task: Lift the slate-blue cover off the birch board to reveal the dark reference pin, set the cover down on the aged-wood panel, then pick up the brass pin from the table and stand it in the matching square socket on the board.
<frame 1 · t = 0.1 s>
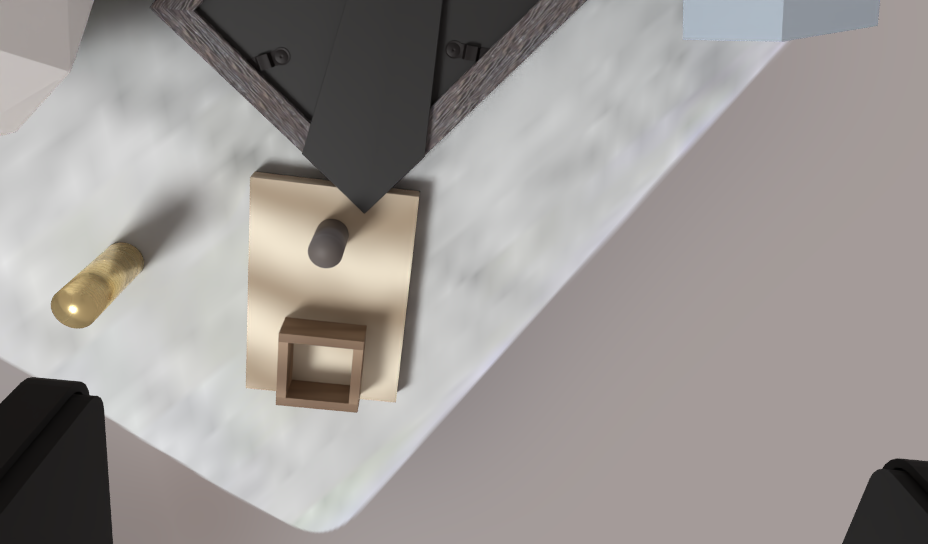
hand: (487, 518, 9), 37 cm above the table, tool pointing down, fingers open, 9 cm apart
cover: (776, 32, 35), point 8 cm above the table, tilted 92°
brass pin: (124, 260, 47), on the table
board: (330, 289, 48), on the table
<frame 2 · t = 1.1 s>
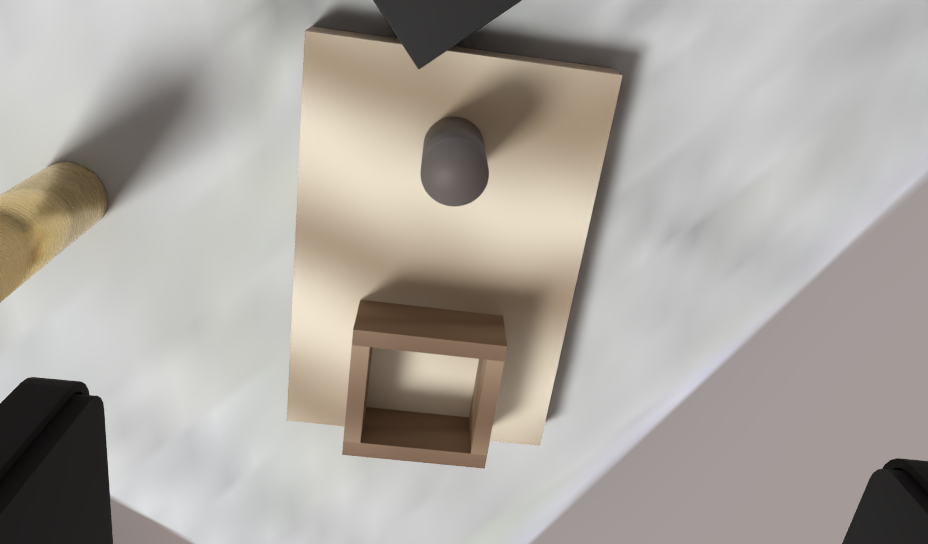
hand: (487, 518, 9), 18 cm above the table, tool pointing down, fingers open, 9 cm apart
brass pin: (72, 195, 26), on the table
board: (438, 251, 27), on the table
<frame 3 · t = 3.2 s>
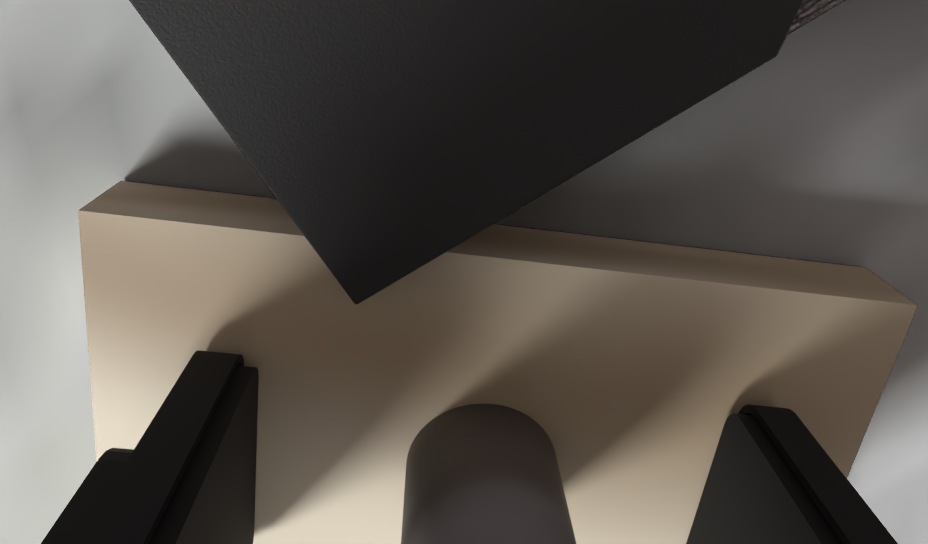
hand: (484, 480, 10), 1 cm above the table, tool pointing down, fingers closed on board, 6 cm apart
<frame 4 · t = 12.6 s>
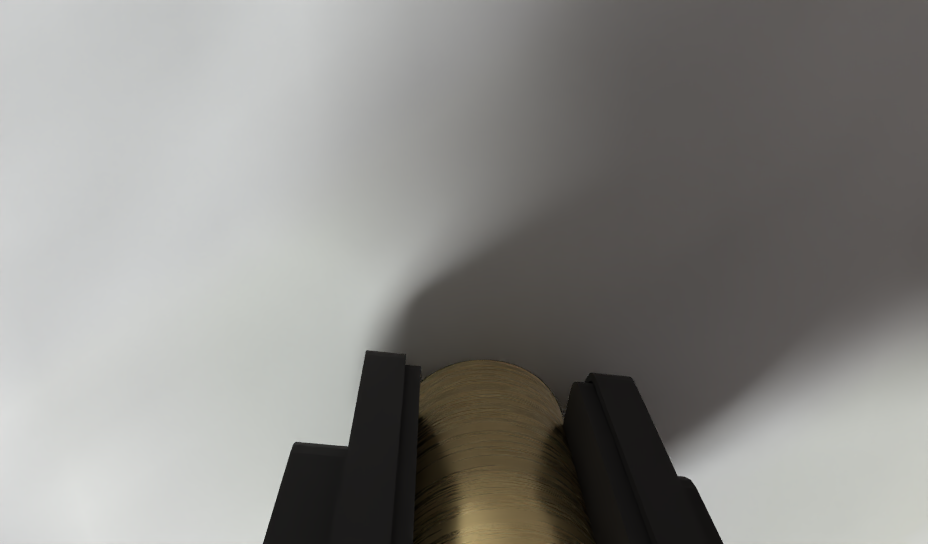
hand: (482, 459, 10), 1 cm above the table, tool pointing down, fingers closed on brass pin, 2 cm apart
brass pin: (480, 432, 11), on the table, touching gripper
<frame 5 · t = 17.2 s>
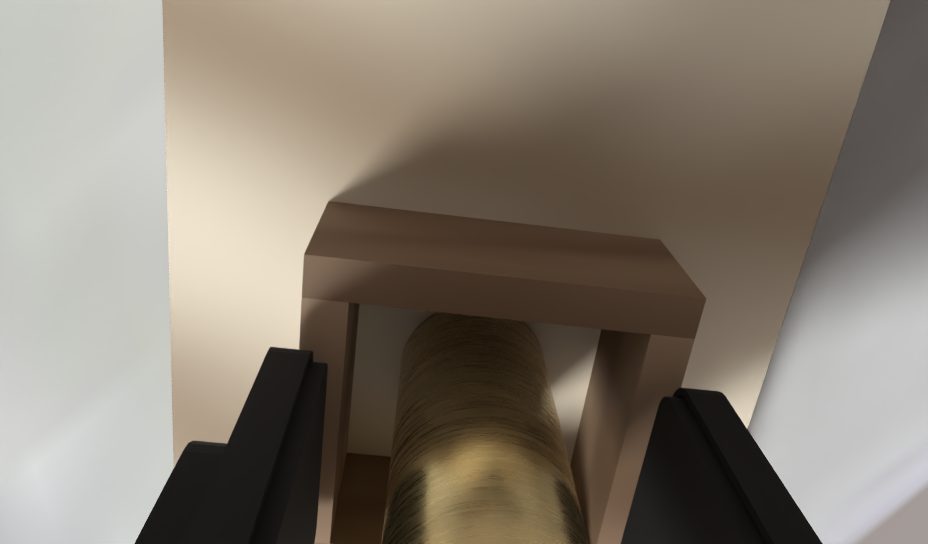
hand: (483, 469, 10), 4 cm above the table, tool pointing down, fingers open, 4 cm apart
brass pin: (472, 367, 12), point 1 cm above the table, touching board
board: (507, 96, 12), on the table
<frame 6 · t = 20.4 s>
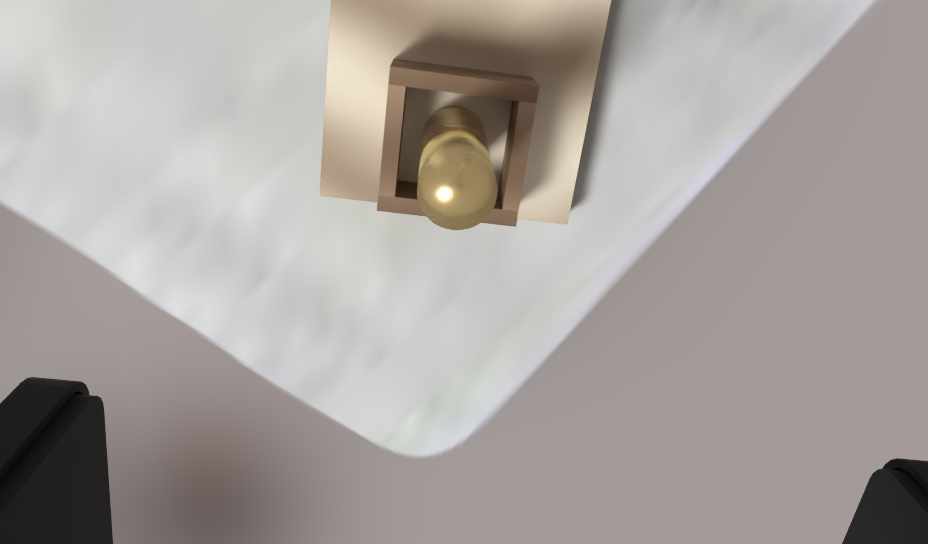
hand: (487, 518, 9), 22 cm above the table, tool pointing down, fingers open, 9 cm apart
brass pin: (453, 137, 28), point 1 cm above the table, touching board
board: (468, 17, 28), on the table
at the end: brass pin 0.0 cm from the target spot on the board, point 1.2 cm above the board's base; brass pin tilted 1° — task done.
